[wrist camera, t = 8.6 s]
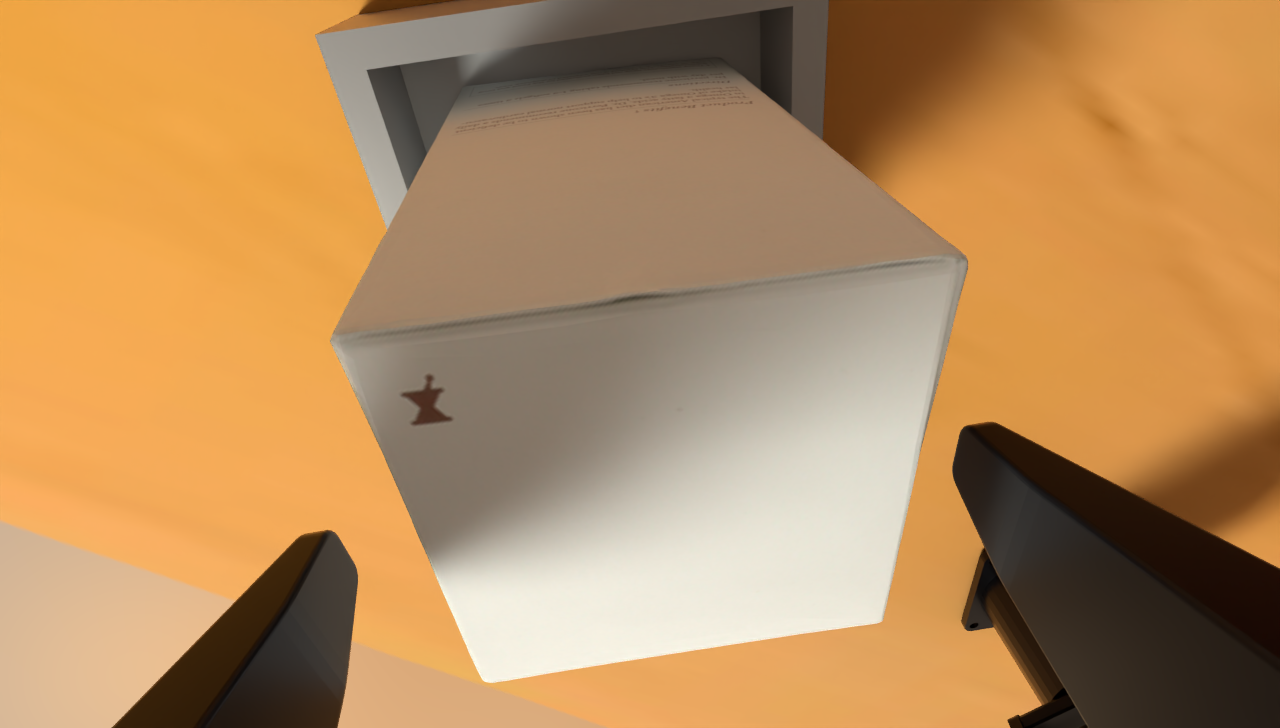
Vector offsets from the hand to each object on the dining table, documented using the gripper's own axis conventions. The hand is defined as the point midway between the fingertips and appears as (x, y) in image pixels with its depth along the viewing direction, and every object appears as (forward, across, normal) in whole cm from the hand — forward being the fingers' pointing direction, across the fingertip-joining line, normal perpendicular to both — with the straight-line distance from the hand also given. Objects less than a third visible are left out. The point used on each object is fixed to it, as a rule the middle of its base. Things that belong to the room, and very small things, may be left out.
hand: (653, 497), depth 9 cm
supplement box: (+12, 0, 0) cm, 12 cm away
